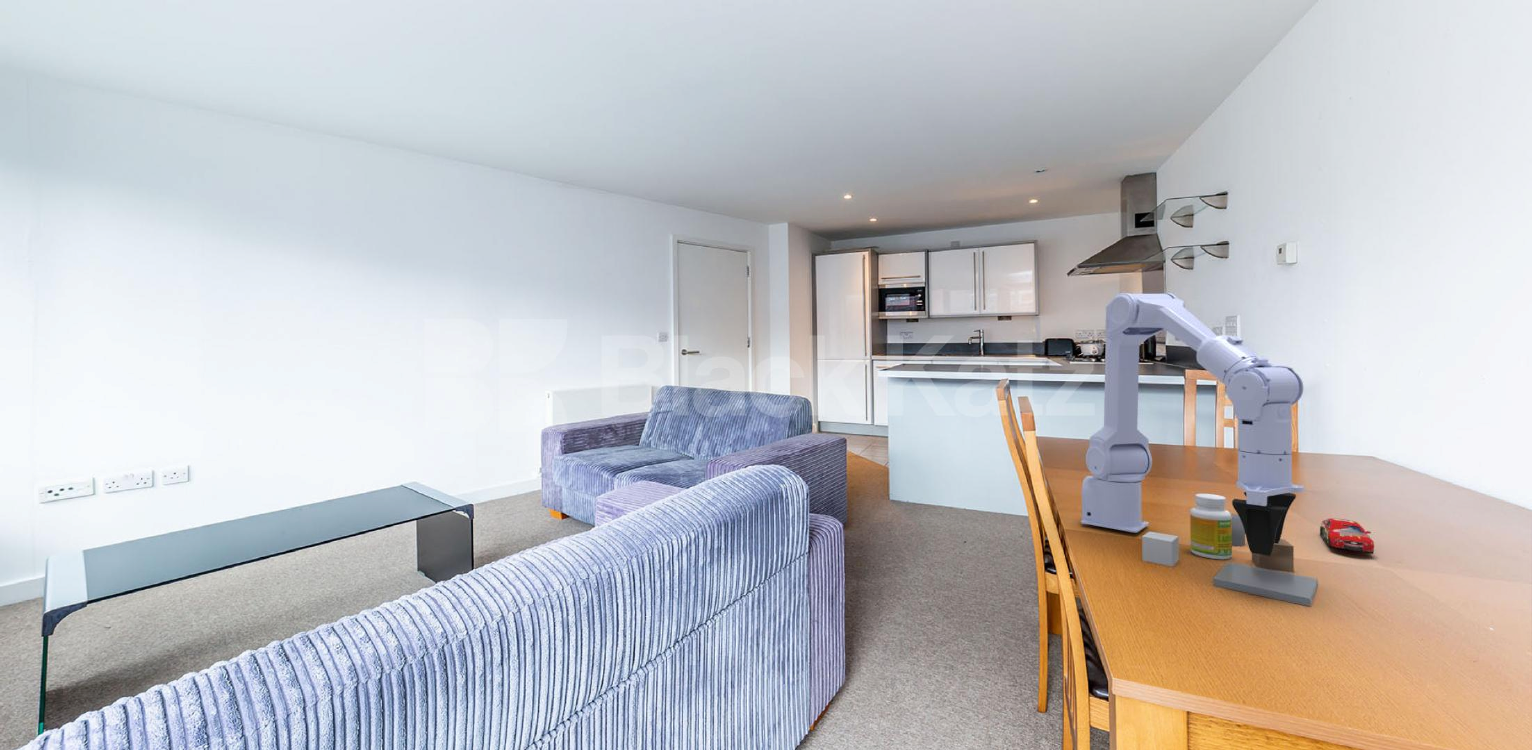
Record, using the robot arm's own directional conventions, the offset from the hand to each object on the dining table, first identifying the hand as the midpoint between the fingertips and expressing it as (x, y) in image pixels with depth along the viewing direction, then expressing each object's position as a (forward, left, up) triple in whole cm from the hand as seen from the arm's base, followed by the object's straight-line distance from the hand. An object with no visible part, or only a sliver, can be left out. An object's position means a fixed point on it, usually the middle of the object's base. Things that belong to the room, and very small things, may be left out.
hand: (1265, 547), depth 81 cm
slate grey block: (-7, +20, -6) cm, 22 cm away
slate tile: (0, 0, -5) cm, 5 cm away
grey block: (-13, +2, -6) cm, 14 cm away
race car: (+8, +28, -7) cm, 30 cm away
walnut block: (0, +11, -6) cm, 12 cm away
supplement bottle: (-8, +11, -6) cm, 15 cm away
